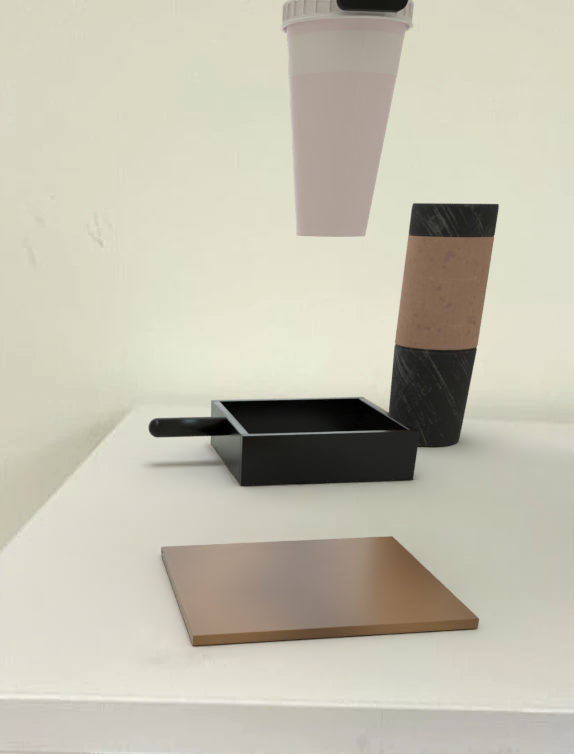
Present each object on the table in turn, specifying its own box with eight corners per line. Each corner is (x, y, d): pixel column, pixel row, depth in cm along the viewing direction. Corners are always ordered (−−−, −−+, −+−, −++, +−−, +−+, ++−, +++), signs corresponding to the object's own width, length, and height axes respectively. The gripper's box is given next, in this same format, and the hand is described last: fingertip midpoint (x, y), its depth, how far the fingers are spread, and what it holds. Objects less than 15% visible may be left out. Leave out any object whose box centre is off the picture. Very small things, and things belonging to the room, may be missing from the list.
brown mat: (391, 544, 60) (392, 536, 59) (477, 628, 48) (479, 618, 48) (161, 555, 57) (161, 546, 57) (192, 646, 46) (192, 635, 45)
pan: (358, 439, 86) (363, 396, 84) (413, 479, 74) (420, 431, 72) (140, 445, 83) (139, 401, 81) (159, 488, 71) (158, 438, 69)
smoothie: (353, 233, 50) (381, -95, 43) (414, 237, 45) (458, -134, 38) (252, 233, 48) (263, -109, 41) (304, 238, 43) (327, -153, 36)
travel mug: (465, 449, 83) (506, 203, 72) (384, 445, 84) (413, 203, 73) (458, 431, 89) (494, 203, 79) (383, 428, 90) (409, 203, 80)
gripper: (612, -795, 26) (498, -9, 35) (408, -437, 40) (366, 51, 50) (370, -836, 25) (320, -16, 34) (250, -454, 39) (238, 48, 49)
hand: (348, 19), depth 42 cm, fingers closed on smoothie, 6 cm apart
